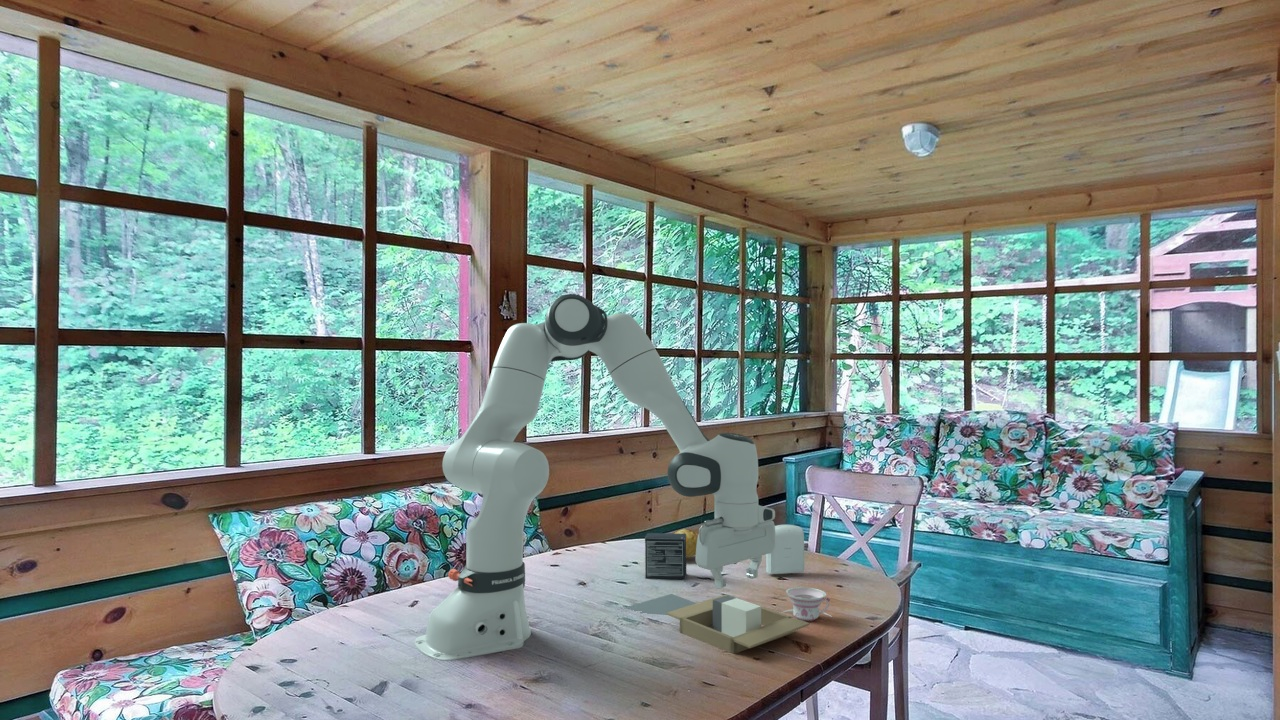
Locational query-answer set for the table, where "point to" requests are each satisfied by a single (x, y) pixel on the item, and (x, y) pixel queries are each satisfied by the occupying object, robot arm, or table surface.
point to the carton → (701, 616)
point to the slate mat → (661, 605)
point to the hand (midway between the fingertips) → (736, 582)
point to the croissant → (689, 541)
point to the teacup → (806, 602)
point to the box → (735, 616)
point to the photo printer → (786, 550)
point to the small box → (665, 556)
